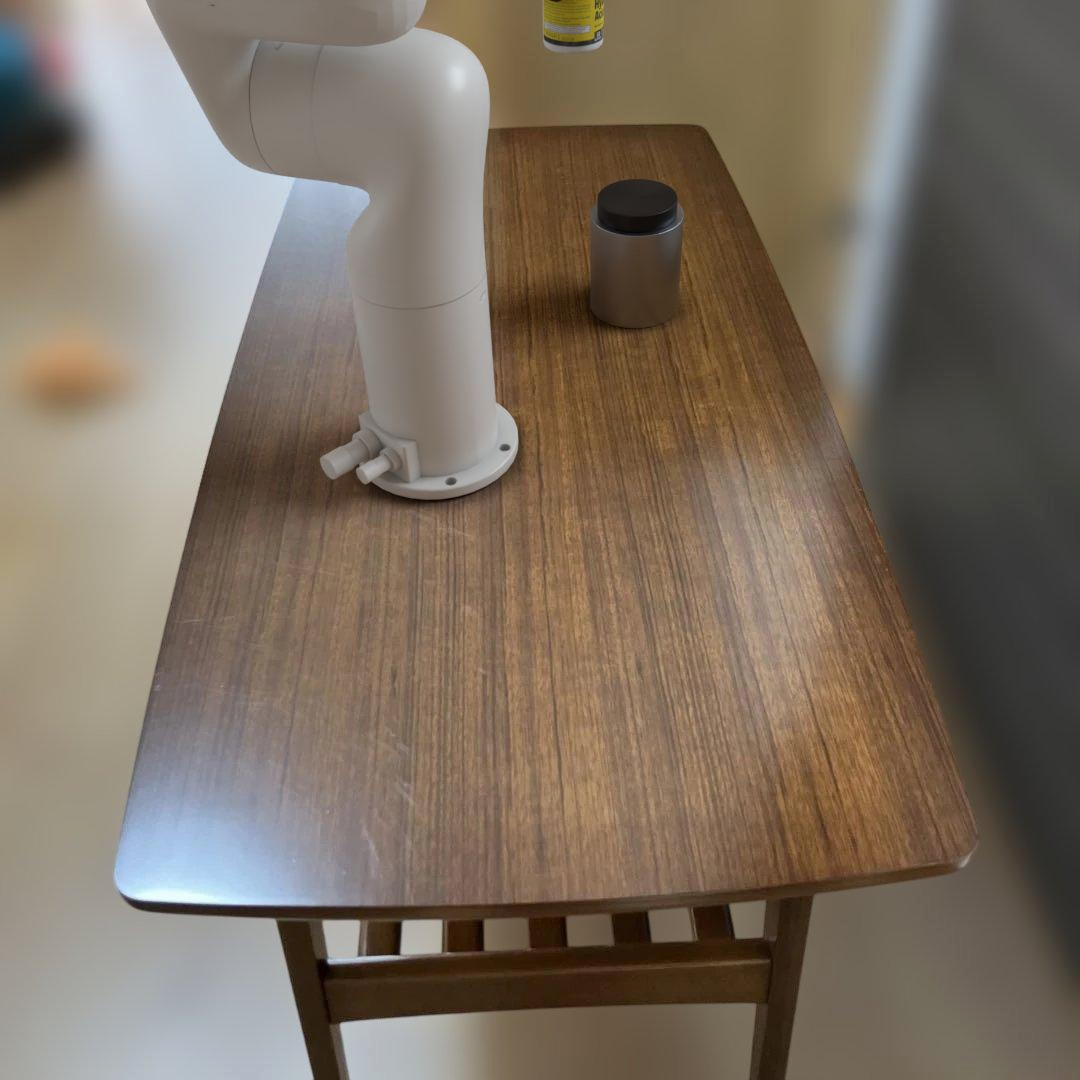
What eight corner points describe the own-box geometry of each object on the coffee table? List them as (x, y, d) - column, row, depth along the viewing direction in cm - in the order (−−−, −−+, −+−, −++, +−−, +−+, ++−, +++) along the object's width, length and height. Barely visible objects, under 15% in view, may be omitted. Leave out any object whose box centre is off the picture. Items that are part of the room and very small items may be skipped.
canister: (637, 339, 98) (640, 229, 91) (572, 305, 102) (570, 198, 95) (696, 303, 102) (704, 195, 95) (631, 272, 106) (634, 166, 99)
